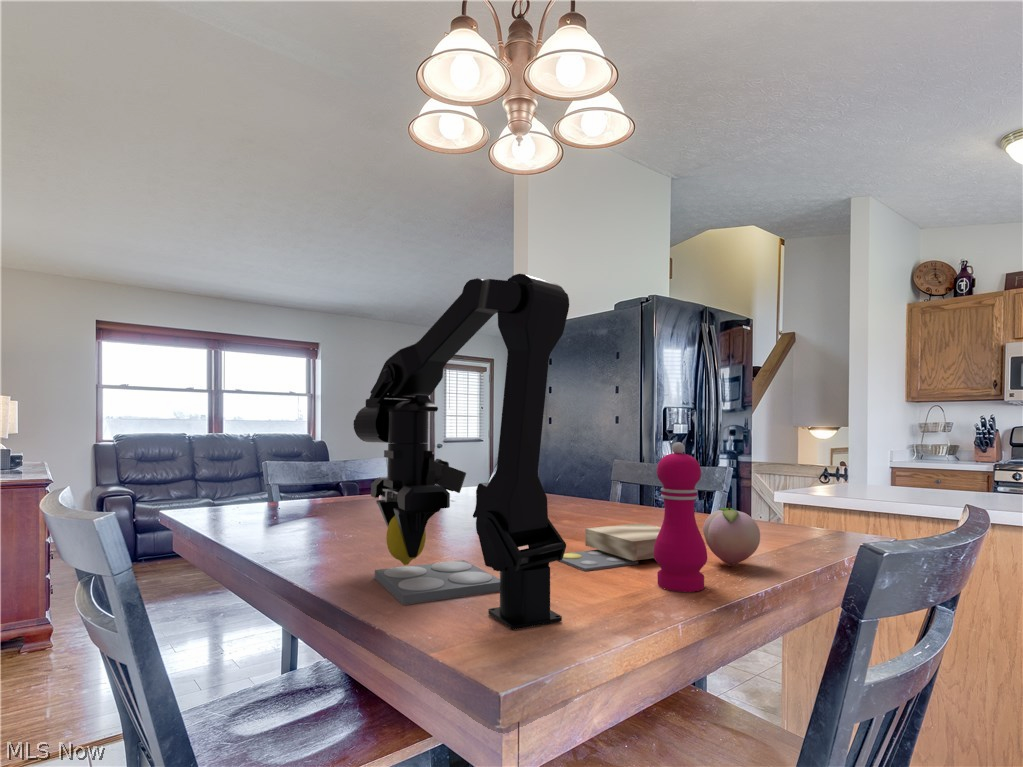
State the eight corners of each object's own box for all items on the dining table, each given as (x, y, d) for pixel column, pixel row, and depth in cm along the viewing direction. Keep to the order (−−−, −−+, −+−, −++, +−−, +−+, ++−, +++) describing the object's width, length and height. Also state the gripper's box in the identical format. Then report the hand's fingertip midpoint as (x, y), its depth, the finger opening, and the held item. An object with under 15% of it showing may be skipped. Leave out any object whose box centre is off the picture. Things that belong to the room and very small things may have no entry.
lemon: (377, 566, 80) (378, 509, 81) (402, 559, 85) (403, 504, 86) (409, 571, 78) (410, 512, 78) (433, 563, 82) (433, 507, 83)
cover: (693, 552, 96) (693, 534, 96) (633, 560, 90) (632, 541, 90) (642, 539, 108) (642, 523, 108) (585, 545, 102) (585, 528, 102)
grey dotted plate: (638, 564, 92) (638, 560, 92) (585, 571, 87) (585, 567, 87) (599, 551, 101) (599, 548, 101) (549, 557, 97) (549, 554, 97)
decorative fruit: (770, 574, 86) (768, 507, 87) (714, 572, 87) (713, 506, 88) (749, 559, 96) (747, 499, 96) (699, 558, 96) (698, 498, 97)
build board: (504, 590, 77) (504, 580, 77) (403, 605, 70) (403, 593, 70) (463, 567, 89) (464, 558, 89) (374, 578, 83) (374, 568, 83)
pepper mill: (714, 584, 80) (711, 442, 82) (699, 596, 74) (696, 443, 76) (664, 576, 84) (662, 441, 86) (646, 587, 78) (644, 442, 80)
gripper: (485, 444, 78) (485, 560, 77) (438, 441, 95) (436, 537, 93) (406, 445, 73) (404, 570, 72) (371, 442, 89) (368, 543, 88)
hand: (406, 553), depth 81 cm, fingers closed on lemon, 5 cm apart
